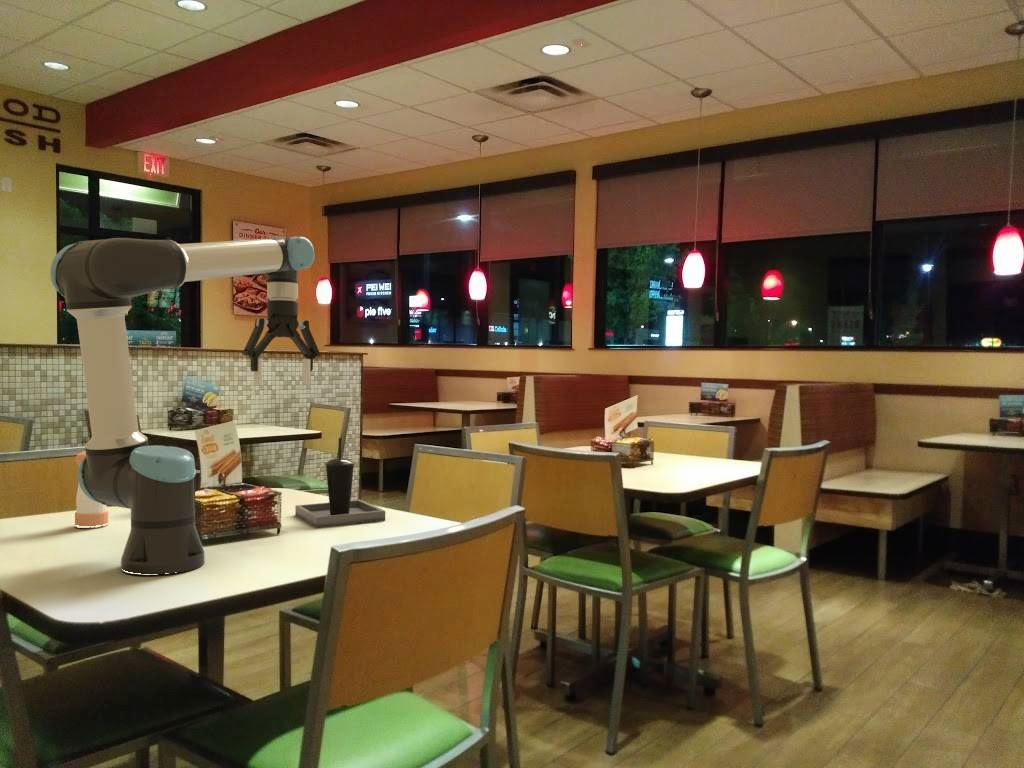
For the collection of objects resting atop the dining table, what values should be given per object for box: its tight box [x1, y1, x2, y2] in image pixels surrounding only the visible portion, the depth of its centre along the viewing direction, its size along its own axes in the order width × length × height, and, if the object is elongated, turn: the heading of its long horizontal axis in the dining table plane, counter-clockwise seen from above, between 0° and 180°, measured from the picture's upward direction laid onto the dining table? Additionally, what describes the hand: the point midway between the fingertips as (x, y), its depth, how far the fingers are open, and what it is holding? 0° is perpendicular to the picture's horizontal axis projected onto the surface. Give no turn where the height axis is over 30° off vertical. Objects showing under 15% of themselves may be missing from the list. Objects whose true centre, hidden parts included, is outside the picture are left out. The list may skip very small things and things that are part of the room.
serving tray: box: [295, 499, 386, 529], centre depth 204 cm, size 18×18×2 cm
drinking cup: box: [324, 437, 356, 515], centre depth 204 cm, size 8×8×20 cm
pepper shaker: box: [74, 451, 109, 526], centre depth 191 cm, size 7×7×19 cm
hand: (282, 384), depth 199 cm, fingers open, 13 cm apart
